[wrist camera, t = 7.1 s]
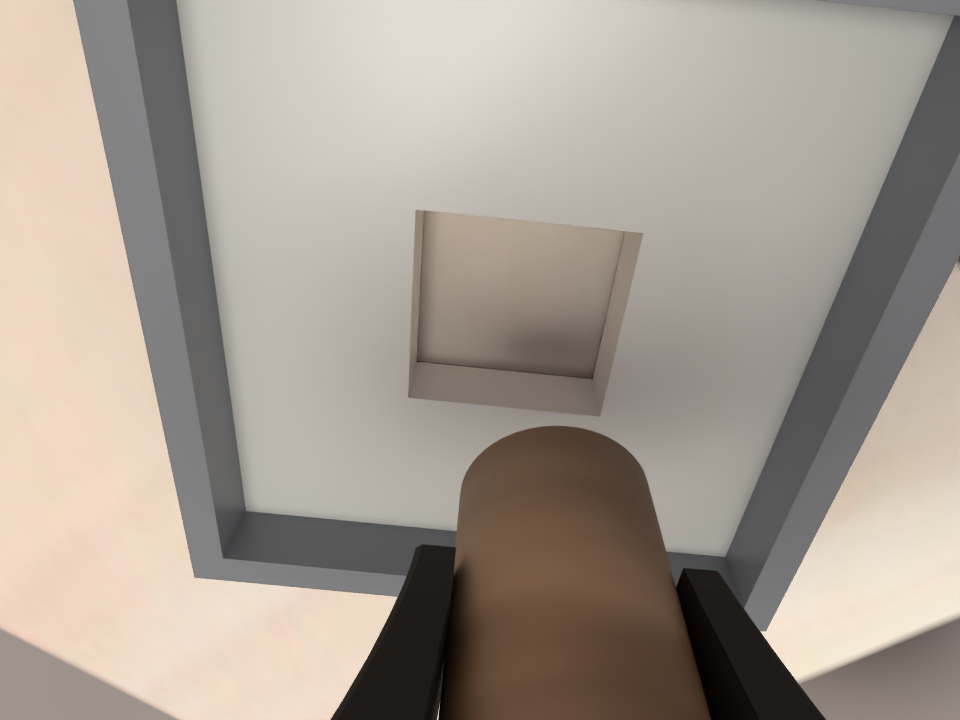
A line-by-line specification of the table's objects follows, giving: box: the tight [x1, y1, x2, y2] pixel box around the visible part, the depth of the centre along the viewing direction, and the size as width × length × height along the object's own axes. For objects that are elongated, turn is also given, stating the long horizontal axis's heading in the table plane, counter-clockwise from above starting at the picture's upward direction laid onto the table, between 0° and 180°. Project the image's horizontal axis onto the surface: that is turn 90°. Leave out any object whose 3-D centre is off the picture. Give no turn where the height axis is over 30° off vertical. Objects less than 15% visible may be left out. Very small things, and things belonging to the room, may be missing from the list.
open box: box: [73, 0, 960, 631], centre depth 17 cm, size 18×18×4 cm
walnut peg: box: [439, 426, 711, 720], centre depth 10 cm, size 4×4×8 cm
